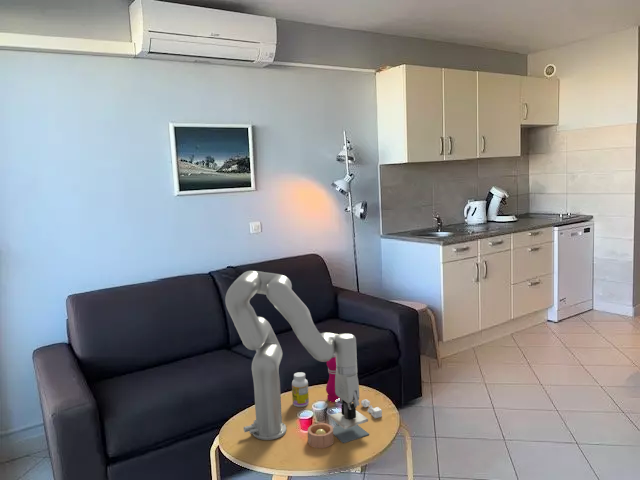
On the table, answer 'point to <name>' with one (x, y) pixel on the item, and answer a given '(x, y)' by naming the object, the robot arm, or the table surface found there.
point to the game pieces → (372, 409)
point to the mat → (349, 433)
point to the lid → (344, 420)
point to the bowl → (320, 435)
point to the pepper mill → (331, 379)
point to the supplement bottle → (300, 390)
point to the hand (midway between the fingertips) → (348, 415)
